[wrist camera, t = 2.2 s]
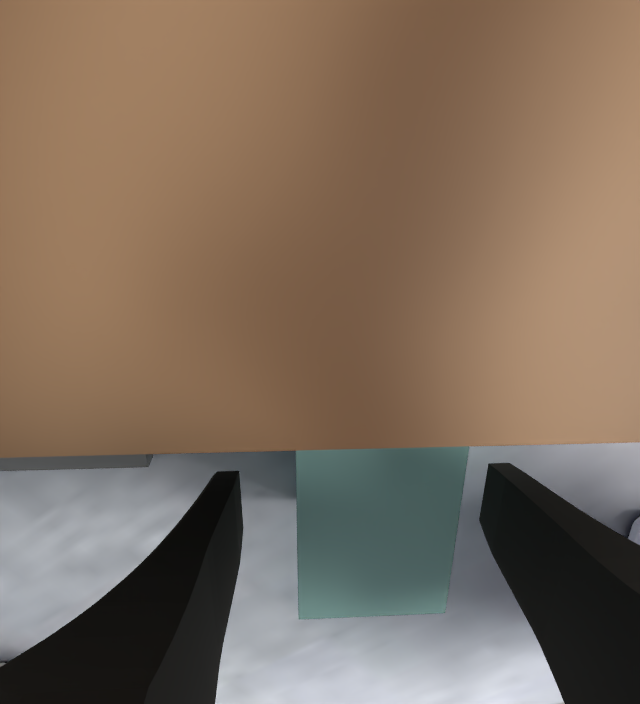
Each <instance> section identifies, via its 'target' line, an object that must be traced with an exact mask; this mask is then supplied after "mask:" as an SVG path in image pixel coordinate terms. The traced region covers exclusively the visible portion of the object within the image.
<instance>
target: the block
mask: <svg viewBox="0 0 640 704" xmlns="http://www.w3.org/2000/svg"><path fill="white" fill-rule="evenodd" d="M468 451H469V446H463V447H422V448H381V449H340V450H299V451H296V497H297V554H298V611H299V619H321V618H345V617H368V616H391V615H415V614H438V613H445V610H446V603H447V596H448V589H449V582H450V575H451V569H452V562H453V555H454V548H455V541H456V534H457V527H458V520H459V513H460V507H461V500H462V493H463V486H464V479H465V472H466V465H467V458H468Z"/></svg>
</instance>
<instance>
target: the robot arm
mask: <svg viewBox="0 0 640 704" xmlns="http://www.w3.org/2000/svg"><path fill="white" fill-rule="evenodd" d="M479 521H480V524H481V526H482V529H483V532H484V535H485V537H486V540H487V542H488V545H489V547H490V550H491V552H492V555H493V557H494V558H495V560H496V562H497V564H498V566H499V568H500V570H501V572H502V574H503V576H504V577H505V579H506V581H507V583H508V585H509V587H510V589H511V590H512V592H513V594H514V596H515V598H516V600H517V602H518V603H519V605H520V607H521V609H522V611H523V613H524V615H525V616H526V618H527V620H528V622H529V624H530V626H531V628H532V629H533V631H534V634H535V636H536V638H537V640H538V642H539V644H540V646H541V648H542V650H543V653H544V655H545V657H546V660H547V662H548V664H549V667H550V669H551V671H552V674H553V676H554V678H555V681H556V683H557V686H558V688H559V691H560V693H561V696H562V698H563V701H564V703H565V704H640V517H638V518H637V519H636V520H635V521H634V523H633V525H632V528H631V531H630V534H629V537H628V539H627V538H626V537H624V536H622V535H620V534H618V533H617V532H615V531H613V530H612V529H610V528H608V527H607V526H605V525H603V524H602V523H600V522H598V521H597V520H595V519H593V518H592V517H590V516H589V515H587V514H585V513H584V512H582V511H581V510H579V509H578V508H576V507H575V506H573V505H572V504H570V503H569V502H567V501H566V500H564V499H563V498H561V497H560V496H558V495H557V494H555V493H554V492H552V491H551V490H549V489H548V488H546V487H545V486H543V485H542V484H541V483H539V482H538V481H536V480H535V479H533V478H532V477H530V476H529V475H527V474H526V473H524V472H523V471H521V470H520V469H518V468H517V467H515V466H513V465H512V464H510V463H492V464H488V470H487V476H486V482H485V488H484V494H483V500H482V506H481V512H480V518H479ZM242 536H243V519H242V505H241V492H240V478H239V471H221V472H216V473H215V474H214V475H213V477H212V478H211V480H210V481H209V483H208V484H207V486H206V487H205V488H204V490H203V491H202V493H201V494H200V495H199V497H198V498H197V500H196V501H195V502H194V504H193V505H192V506H191V507H190V509H189V510H188V511H187V512H186V514H185V515H184V516H183V518H182V519H181V520H180V521H179V523H178V524H177V525H176V526H175V527H174V528H173V530H172V531H171V532H170V533H169V534H168V535H167V536H166V537H165V539H164V540H163V541H162V542H161V543H160V544H159V545H158V546H157V547H156V549H155V550H154V551H153V552H152V553H151V554H150V555H149V556H148V557H147V558H146V559H145V560H144V561H143V562H142V563H141V564H140V565H139V566H138V567H137V568H136V569H134V570H133V571H132V572H131V573H130V574H129V575H128V576H127V577H126V578H125V579H124V580H122V581H121V582H120V583H119V584H118V585H117V586H116V587H114V588H113V589H112V590H111V591H110V592H108V593H107V594H106V595H105V596H104V597H102V598H101V599H100V600H99V601H97V602H96V603H95V604H94V605H92V606H91V607H90V608H88V609H87V610H86V611H84V612H83V613H82V614H80V615H79V616H78V617H76V618H75V619H74V620H72V621H71V622H69V623H68V624H66V625H65V626H64V627H62V628H61V629H59V630H58V631H56V632H55V633H53V634H52V635H50V636H49V637H47V638H46V639H45V640H43V641H41V642H40V643H38V644H37V645H35V646H33V647H32V648H30V649H29V650H27V651H25V652H24V653H22V654H21V655H19V656H17V657H16V658H14V659H13V660H11V661H9V662H8V663H6V664H4V665H3V666H1V667H0V704H215V698H216V690H217V681H218V673H219V665H220V659H221V653H222V647H223V642H224V637H225V632H226V627H227V623H228V618H229V613H230V608H231V604H232V599H233V594H234V590H235V585H236V580H237V575H238V570H239V565H240V557H241V547H242Z"/></svg>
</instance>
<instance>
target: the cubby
mask: <svg viewBox="0 0 640 704" xmlns="http://www.w3.org/2000/svg"><path fill="white" fill-rule="evenodd" d="M628 442H640V0H0V458H11V457H52V456H93V455H134V454H175V453H217V452H258V451H299V450H340V449H381V448H422V447H463V446H505V445H546V444H587V443H628Z"/></svg>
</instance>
